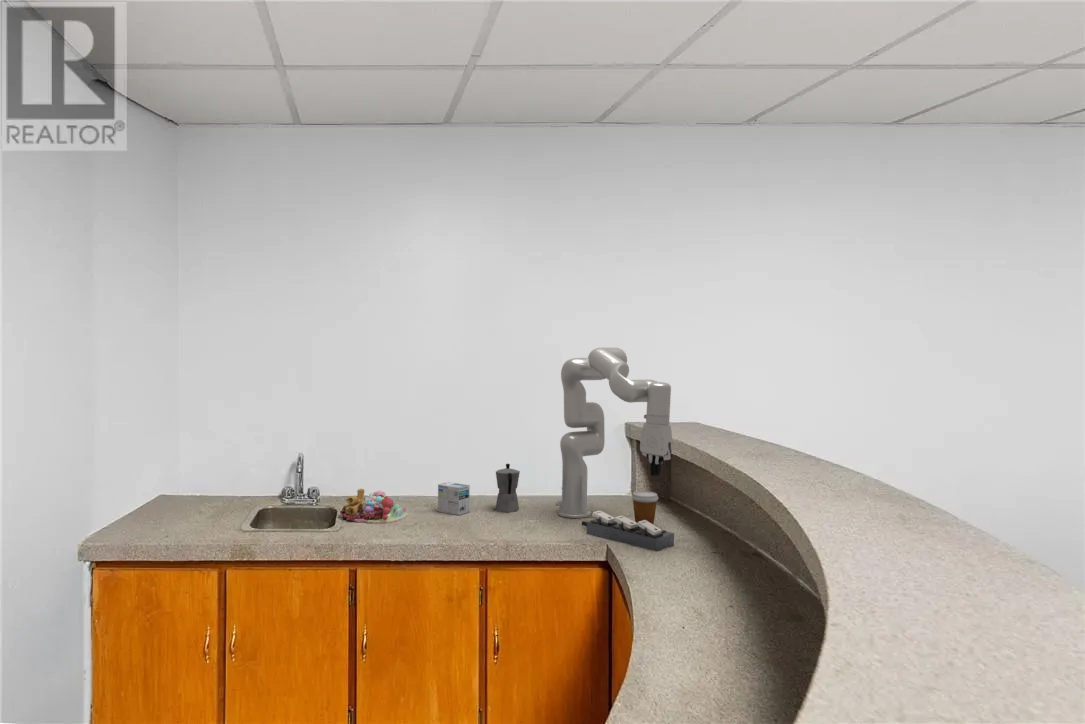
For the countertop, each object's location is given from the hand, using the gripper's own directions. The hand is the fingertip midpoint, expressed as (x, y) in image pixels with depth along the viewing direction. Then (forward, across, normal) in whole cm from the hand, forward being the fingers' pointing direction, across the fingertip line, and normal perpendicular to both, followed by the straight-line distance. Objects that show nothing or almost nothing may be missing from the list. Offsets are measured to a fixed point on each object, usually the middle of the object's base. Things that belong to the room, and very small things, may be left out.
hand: (655, 475), depth 249 cm
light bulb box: (+26, -77, -22) cm, 84 cm away
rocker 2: (+17, -8, -4) cm, 19 cm away
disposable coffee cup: (+24, -14, +15) cm, 32 cm away
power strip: (+23, -11, -2) cm, 26 cm away
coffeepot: (+25, -65, -4) cm, 70 cm away
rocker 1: (+17, -18, -4) cm, 25 cm away
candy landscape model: (+26, -92, -47) cm, 107 cm away
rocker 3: (+17, +1, -4) cm, 17 cm away
